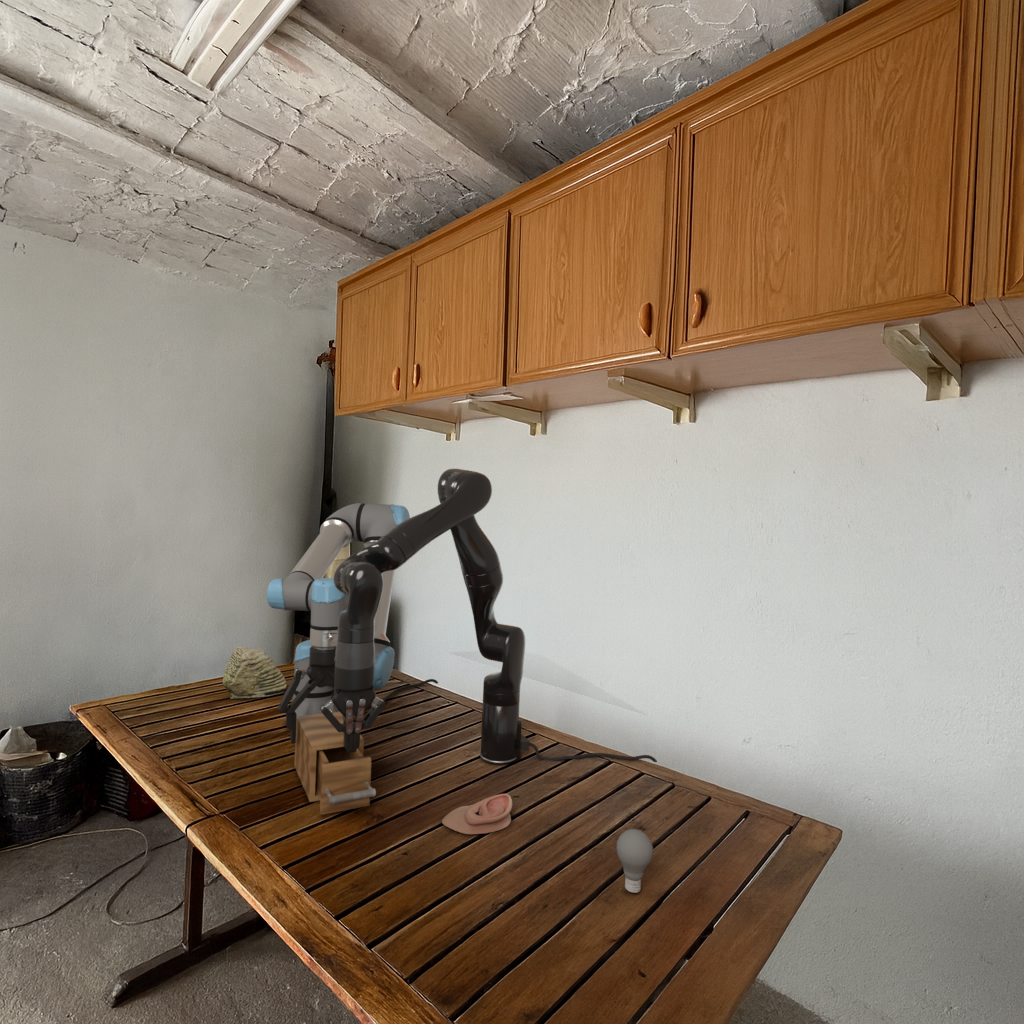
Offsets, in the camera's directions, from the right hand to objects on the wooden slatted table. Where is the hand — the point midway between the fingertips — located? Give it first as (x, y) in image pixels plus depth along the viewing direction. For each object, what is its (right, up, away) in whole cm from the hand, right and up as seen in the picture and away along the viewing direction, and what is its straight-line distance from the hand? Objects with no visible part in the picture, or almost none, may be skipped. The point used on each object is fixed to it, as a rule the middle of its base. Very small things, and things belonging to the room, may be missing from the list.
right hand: (351, 750), depth 124 cm
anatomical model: (+25, -15, +3) cm, 29 cm away
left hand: (-12, -6, +23) cm, 26 cm away
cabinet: (-10, -13, +18) cm, 25 cm away
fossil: (-49, -11, +74) cm, 90 cm away
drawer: (-5, -13, +8) cm, 16 cm away
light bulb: (+52, -17, -18) cm, 57 cm away
